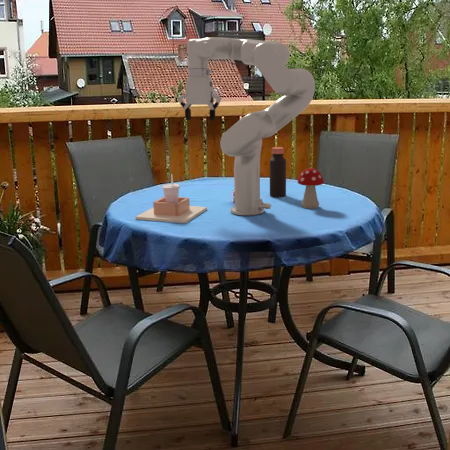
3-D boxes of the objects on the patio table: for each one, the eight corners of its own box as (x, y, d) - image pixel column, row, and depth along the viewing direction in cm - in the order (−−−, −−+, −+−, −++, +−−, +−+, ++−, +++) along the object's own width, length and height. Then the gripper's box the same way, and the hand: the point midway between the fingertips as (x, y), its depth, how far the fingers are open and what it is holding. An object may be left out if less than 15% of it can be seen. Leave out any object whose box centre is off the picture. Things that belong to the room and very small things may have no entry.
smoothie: (178, 213, 220) (176, 176, 216) (161, 213, 221) (159, 175, 217) (182, 209, 226) (181, 172, 222) (166, 208, 227) (164, 172, 224)
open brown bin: (207, 209, 230) (206, 195, 228) (185, 223, 212) (185, 208, 210) (160, 206, 236) (159, 192, 235) (135, 219, 218) (134, 204, 217)
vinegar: (288, 196, 247) (289, 148, 241) (274, 198, 245) (274, 149, 239) (281, 193, 253) (281, 146, 248) (266, 195, 251) (266, 147, 245)
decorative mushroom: (324, 204, 232) (325, 166, 228) (322, 210, 224) (322, 170, 220) (299, 203, 235) (299, 166, 231) (295, 209, 227) (295, 170, 223)
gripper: (223, 72, 223) (225, 119, 228) (181, 73, 229) (183, 118, 234) (216, 73, 216) (218, 121, 221) (173, 74, 222) (175, 120, 227)
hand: (200, 120), depth 227 cm, fingers open, 9 cm apart
